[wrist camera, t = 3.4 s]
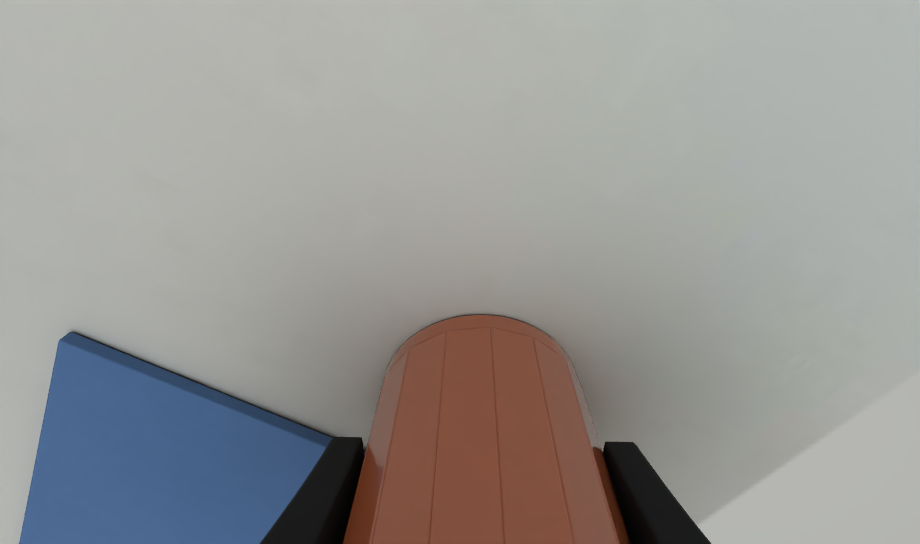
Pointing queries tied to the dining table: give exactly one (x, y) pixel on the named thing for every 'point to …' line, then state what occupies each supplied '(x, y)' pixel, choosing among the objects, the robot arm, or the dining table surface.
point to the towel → (157, 457)
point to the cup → (483, 444)
